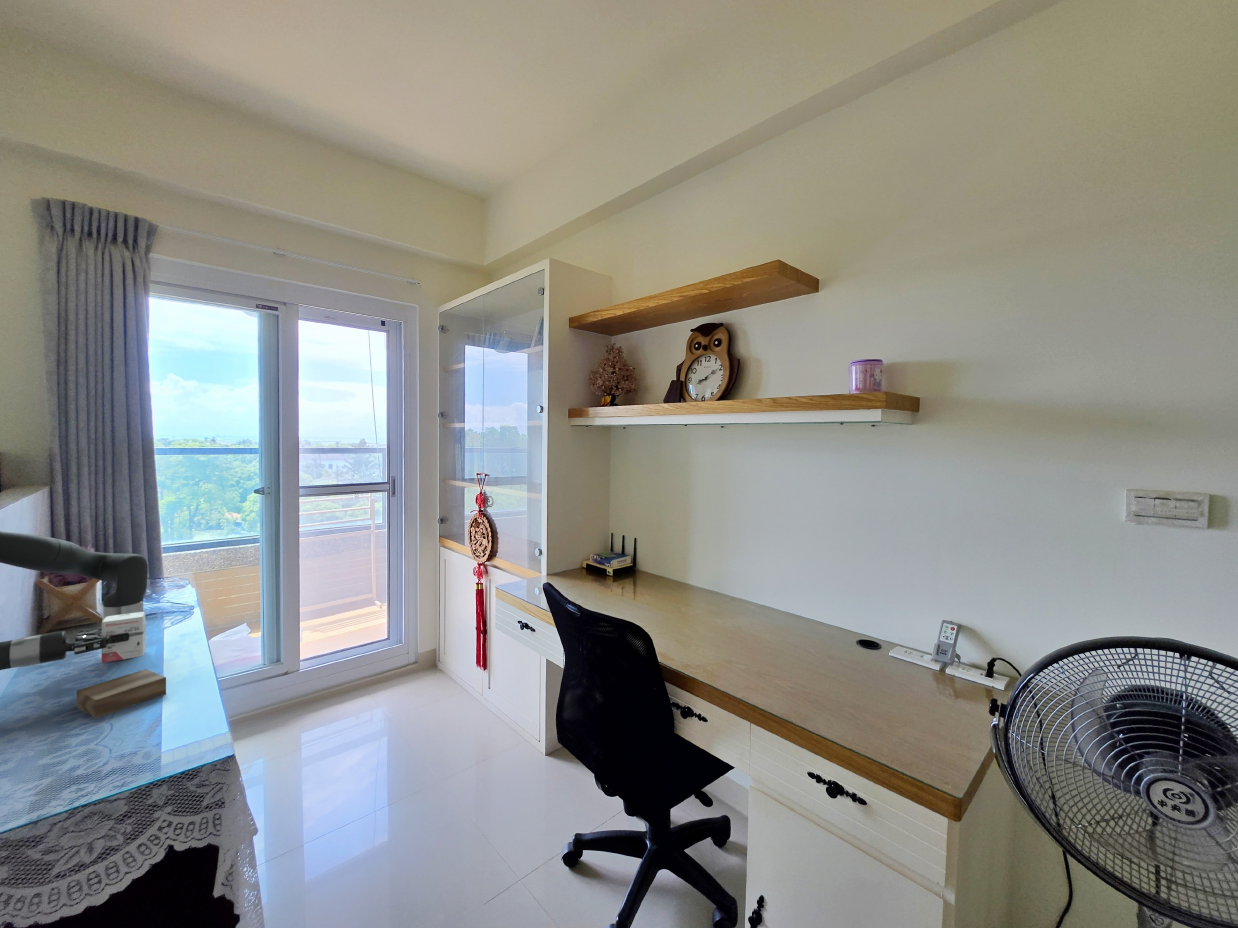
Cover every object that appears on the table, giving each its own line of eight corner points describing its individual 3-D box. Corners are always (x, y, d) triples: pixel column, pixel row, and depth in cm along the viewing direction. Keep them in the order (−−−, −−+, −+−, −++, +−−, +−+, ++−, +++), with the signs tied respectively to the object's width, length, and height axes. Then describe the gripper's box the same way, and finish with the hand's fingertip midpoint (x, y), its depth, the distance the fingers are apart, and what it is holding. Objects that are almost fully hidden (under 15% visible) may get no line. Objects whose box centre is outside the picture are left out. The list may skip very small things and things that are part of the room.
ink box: (100, 663, 137) (99, 621, 137) (104, 657, 141) (103, 616, 141) (143, 656, 143) (142, 615, 142) (145, 650, 146) (145, 611, 146)
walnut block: (77, 708, 129) (76, 690, 128) (146, 686, 141) (146, 668, 141) (96, 719, 124) (95, 699, 124) (166, 694, 137) (165, 677, 136)
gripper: (35, 643, 125) (129, 627, 137) (42, 627, 135) (129, 613, 147) (35, 672, 126) (129, 653, 137) (42, 654, 136) (129, 638, 148)
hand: (128, 633), depth 142 cm, fingers closed on ink box, 5 cm apart
